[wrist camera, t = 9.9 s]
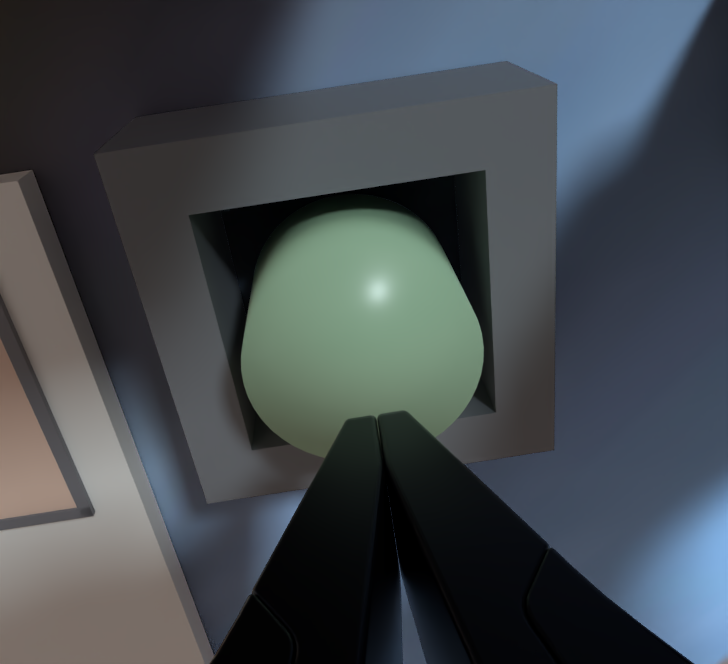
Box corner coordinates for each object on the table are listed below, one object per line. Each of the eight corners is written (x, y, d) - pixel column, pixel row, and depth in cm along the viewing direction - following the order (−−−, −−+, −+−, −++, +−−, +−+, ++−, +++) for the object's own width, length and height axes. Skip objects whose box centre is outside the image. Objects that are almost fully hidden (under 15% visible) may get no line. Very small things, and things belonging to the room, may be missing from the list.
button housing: (506, 60, 13) (557, 83, 11) (514, 374, 17) (554, 449, 14) (135, 116, 13) (93, 154, 11) (222, 419, 17) (207, 503, 14)
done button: (441, 179, 13) (478, 233, 10) (455, 358, 15) (488, 442, 12) (233, 210, 13) (214, 274, 10) (274, 385, 15) (267, 476, 12)
